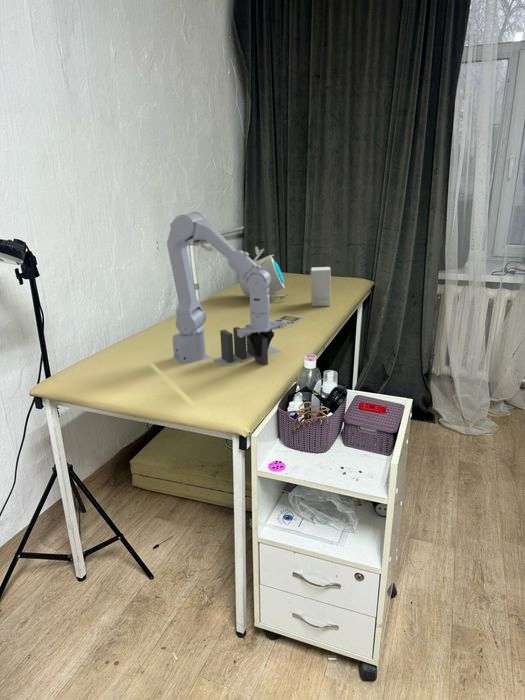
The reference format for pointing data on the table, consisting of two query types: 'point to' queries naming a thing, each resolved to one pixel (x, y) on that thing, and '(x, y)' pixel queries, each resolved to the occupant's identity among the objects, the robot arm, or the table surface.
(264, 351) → the domino
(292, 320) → the handheld gaming device
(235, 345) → the domino
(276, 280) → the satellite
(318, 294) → the skincare box
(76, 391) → the table surface
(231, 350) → the domino
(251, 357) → the mat
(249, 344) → the domino
